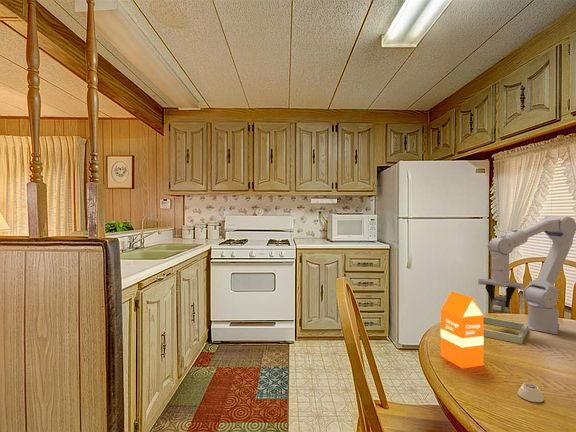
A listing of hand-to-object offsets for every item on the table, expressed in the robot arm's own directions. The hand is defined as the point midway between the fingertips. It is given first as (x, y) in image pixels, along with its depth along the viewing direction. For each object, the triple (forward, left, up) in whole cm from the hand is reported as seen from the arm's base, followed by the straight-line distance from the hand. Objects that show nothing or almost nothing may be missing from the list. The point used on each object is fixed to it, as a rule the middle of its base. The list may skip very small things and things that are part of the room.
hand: (500, 305), depth 126 cm
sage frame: (+1, +2, -9) cm, 10 cm away
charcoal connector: (0, 0, -1) cm, 1 cm away
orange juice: (+4, +38, -10) cm, 39 cm away
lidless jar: (-14, +49, -10) cm, 52 cm away
